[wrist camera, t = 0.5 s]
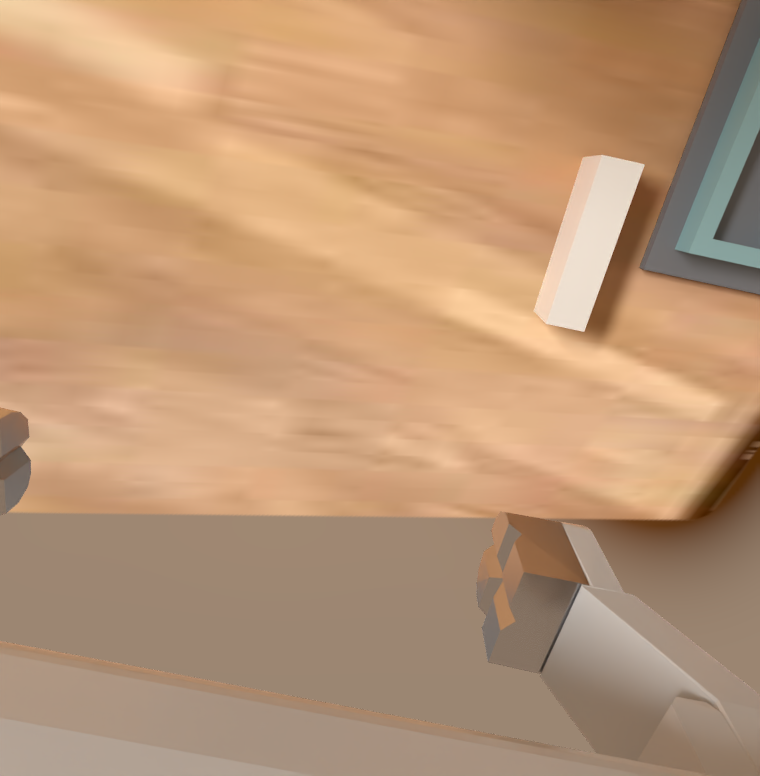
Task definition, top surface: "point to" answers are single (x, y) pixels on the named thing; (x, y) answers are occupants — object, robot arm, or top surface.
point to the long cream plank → (587, 240)
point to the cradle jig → (718, 175)
